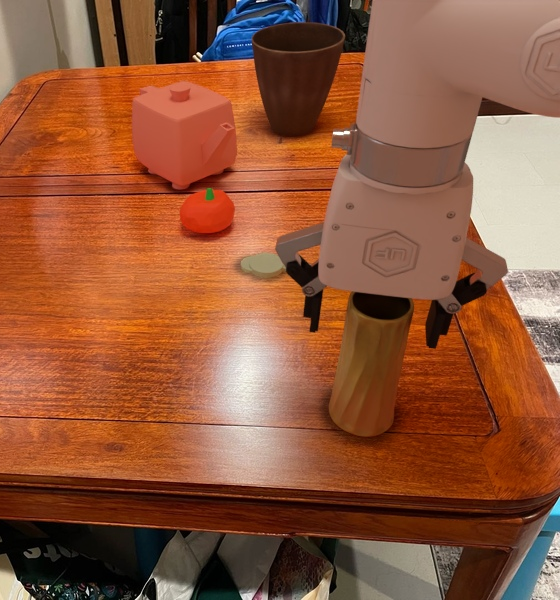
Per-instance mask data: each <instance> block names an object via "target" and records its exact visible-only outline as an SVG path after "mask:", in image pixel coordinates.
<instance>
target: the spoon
mask: <svg viewBox="0 0 560 600" xmlns="http://www.w3.org/2000/svg"><path fill="white" fill-rule="evenodd" d="M309 264H310V265H311V264H312V263H309ZM240 269H241V270H242V271H243V272H245V273H247V274H252V275H253V276H256V277H258V278H264V279H269V278H275V277H277V276H279V275H281V274H282V273H284V272H286V267H285V265H284V264H283V263H282V261H281V259H280V258H279V256H278V254H277V253H273V252H260V253H256V254H254V255H249V256H245V257H244V258H242V259H241V261H240Z"/></svg>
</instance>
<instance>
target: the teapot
mask: <svg viewBox="0 0 560 600" xmlns="http://www.w3.org/2000/svg"><path fill="white" fill-rule="evenodd" d="M138 92H139V95H137V96H135V97H133V98H132V103H131V104H132V107H131V110H132V111H131V136H132V137H131V138H132V139H131V140H132V148H133V151H134V156H135V157H136V159H137V161H138V162H139V163H141V164H142V165H143V166H145V168H147V169H148V170H147V172H148V173H149V174H151V175H158V176H159V177H161V178H163V179H165V180H167V181H168V182H171V184H172V185H171V187H172V188H173V189H174V190H185V189H188V188H189V187H190V186H191V184H192V183H195V182H197V181H199V180H202V179H204V178H206V177H210V176H211V175H213V176H217V175H220V174H222V173H224V169H225V170H226V169H227V168H229V167H231V166H233V165H234V164H235V163H236V159H237V155H238V142H237V130H236V121H235V116H234V110H233V105H232V101H231V99H229V98H227V97H226V96H224V95H222V94H221V93H218V92H217V91H214V90H211V89H209V88H207V87H205V86H202V85H199V84H196V83H195V82H190V81H187V80H180V81H177V82H175V83H171V84H167V85H165V86H161V87H160V88H159V87H158V86H154V85H151V84H150V85H146V86H143V87H141V88H139V91H138Z"/></svg>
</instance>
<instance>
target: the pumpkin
mask: <svg viewBox="0 0 560 600" xmlns="http://www.w3.org/2000/svg"><path fill="white" fill-rule="evenodd" d="M235 211H236V206H235V204H234V201H233V200H232V198H231V197H230V196H229V195H228V194H227V193H226V192H225V191H223V190H222V189H213V188H212V187H211V188H209V187H207V188H206V189H204V190H201V191H197V192H194V193H192V194H190V195H189V196H187V197H186V199H185V200H184V202H183V203H182V205H181V206H180V209H179V221H180V222H181V224H182V225H183V226H184V227H185V228H186V229H187V230H189V231H192V232H194V233H197V234H214V233H219V232H222V231H224V230H226V229H227V228H228V227H229V226H231V225H232V222H233V221H234V216H235Z"/></svg>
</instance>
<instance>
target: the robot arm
mask: <svg viewBox="0 0 560 600" xmlns="http://www.w3.org/2000/svg"><path fill="white" fill-rule="evenodd" d="M360 79H361V81H360V87H359V95H358V103H357V110H356V115H355V116H356V117H355V123H353V122H351V123H350V127H346V126H345V127H344V128H333V129H332V136H331V146H330V148H331V149H341V151H346V154H345V155H344V156H343V157H342V158H341V160H340V163H339V166H338V168H337V171H336V173H335V176H334V179H333V182H332V186H331V190H330V194H329V198H328V202H327V205H326V211H325V216H324V220H323V222H319V223H317V224H314V225H311V226H307V227H305V228H301V229H298V230H295V231H291V232H289V233H285V234H282V235H280V236H279V237H277V239H276V243H275V247H274V249H275V251H276V255H278V256H279V258H280V259H281V261H282V263H283V264H284V265H285V267H286V274H287V275H288V276H289V277H290V278H291V279H292V280H293V281H294V282H295V283H296V284H297V285H298V286H300V288H301V293H302V294H303V295H304V296H305V297H304V305H303V312H302V313H303V314H302V318H305V319H310V324H309V333H314V334H315V333H316V332H319V328H320V327H319V325H320V317H321V310H322V303H323V295H324V289H325V288H327V287H328V288H331V289H334V290H338V291H345V292H360V293H368V294H377V295H385V296H394V297H403V298H412V300H424V301H431V302H430V305H429V309H428V313H427V316H426V319H425V325H424V328H425V329H424V330H425V346H426V347H428V349H432V350H436V349H437V346H438V343H439V340H440V336H445V337H446V336H448V333H449V331H450V328H451V323H452V320H453V318H454V314H458V313H459V312H461V311H462V307H463V306H465V305H467V304H469V303H471V302H473V301H475V300H478V299H480V298H481V297H484V296H485V295H486V294H487V292H488V290H489V289H490V288H492V287H494V286H495V285H496V284H497V283H498V282H499V281H501V280H502V279H503V278H504V277H505V276H506V275H507V274H508V272H509V268H508V264H507V260H506V258H504V257H503V256H501V255H499V254H498V253H496V252H494V251H492V250H490V249H488V248H487V247H485V246H483V245H481V244H479V243H477V242H476V241H474V240H472V239H470V238H468V231H469V226H470V219H471V213H472V208H473V199H474V198H473V197H474V175H473V173H472V170H471V169H470V167H469V165H468V163H466V159H467V155H468V153H469V148H470V144H471V141H472V137H473V134H474V131H475V126H476V122H477V118H478V115H479V111H480V108H481V104H482V101H483V99H486V100H489V101H492V102H495V103H498V104H501V105H503V106H507V107H509V108H512V109H516V110H518V111H522V112H525V113H528V114H533V115H536V116H541V117H547V118H553V119H554V118H556V119H559V118H560V0H372V1H371V8H370V16H369V22H368V30H367V37H366V44H365V52H364V59H363V65H362V73H361V78H360ZM318 246H319V254H318V258H317V259H316V260H315V261H314V262H312V263H309V262H308V261H307V260H306V259H305V258H304V257H303V256H302V255H300V254H299V252H301V251H304V250H308V249H310V248H315V247H318ZM462 262H465V263H466V264H468V265H470V266H471V267H474V268H475V269H476V272H472V273H470V274H468V275H466V276H464V277H462V278H459V280H458V276H459V273H460V270H461V264H462ZM310 264H311V265H310Z"/></svg>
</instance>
